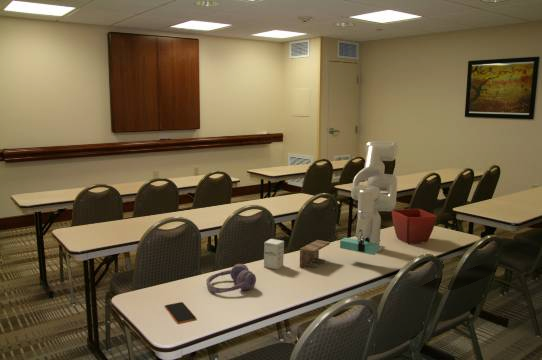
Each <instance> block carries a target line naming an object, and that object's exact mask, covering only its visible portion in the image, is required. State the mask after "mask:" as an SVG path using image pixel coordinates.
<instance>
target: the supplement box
mask: <svg viewBox="0 0 542 360" xmlns="http://www.w3.org/2000/svg"><path fill="white" fill-rule="evenodd" d="M263 244H264V245H263V246H264V249H263V251H264V252H263V268H268V269H273V270H279V269H280V268H281V267H283V266H284V259H285V258H284V257H285V256H284V253H285V251H284V249H285V241H284V240H280V239H275V238H270V239H268V240H266V241H264V243H263Z"/></svg>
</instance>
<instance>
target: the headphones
mask: <svg viewBox="0 0 542 360" xmlns="http://www.w3.org/2000/svg"><path fill="white" fill-rule="evenodd" d="M227 275H230V277H231V279H232V281H234V282H235V283H236V285H233V286H231V287H216V286H213V285H212V284H211V282H212V281H213V280H215V279H217V278H218V277H220V276H221V277H223V276H227ZM256 281H257V276H256V274H255V273H253V272H252V271H251V270H249V268H248V266H247V265H245V264H243V263H237V264H234V266H233V267H232V268H231V269H229V270H224V271H220V272H218V273H215V274H212V275H210V276H208V277H207V279H206V288H207V290H208V292H210V293H213V294H222V293H223V294H224V293H228V292H232V291H236V290H240V289H241V290H243V291H248V290H250V289H252V288H254V287H255V285H256Z"/></svg>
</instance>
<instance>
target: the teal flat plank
mask: <svg viewBox="0 0 542 360" xmlns="http://www.w3.org/2000/svg"><path fill="white" fill-rule="evenodd" d="M339 241H340V242H339V248H340V249H343V250H348V251H352V252H356V253H363V254H367V255H372V256H375V255H377V254H378V253H379V252H380V251H379V244H377V243H372V242H367V241H365V242H364V244H365V252H360V251H358V240H357V238H350V237H343V238H342V239H340V240H339Z"/></svg>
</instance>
